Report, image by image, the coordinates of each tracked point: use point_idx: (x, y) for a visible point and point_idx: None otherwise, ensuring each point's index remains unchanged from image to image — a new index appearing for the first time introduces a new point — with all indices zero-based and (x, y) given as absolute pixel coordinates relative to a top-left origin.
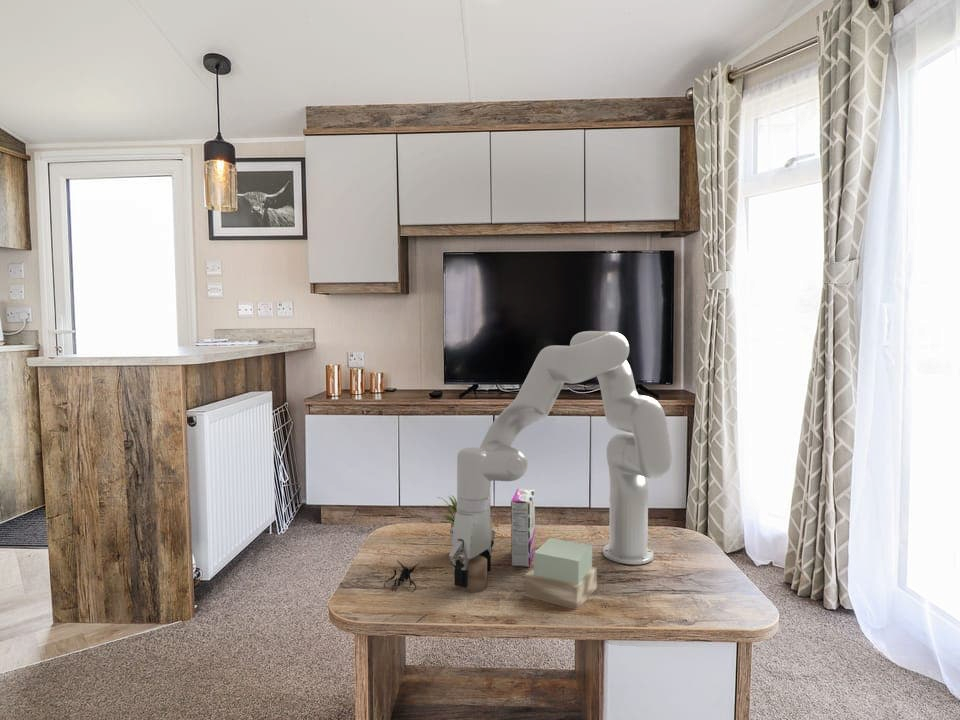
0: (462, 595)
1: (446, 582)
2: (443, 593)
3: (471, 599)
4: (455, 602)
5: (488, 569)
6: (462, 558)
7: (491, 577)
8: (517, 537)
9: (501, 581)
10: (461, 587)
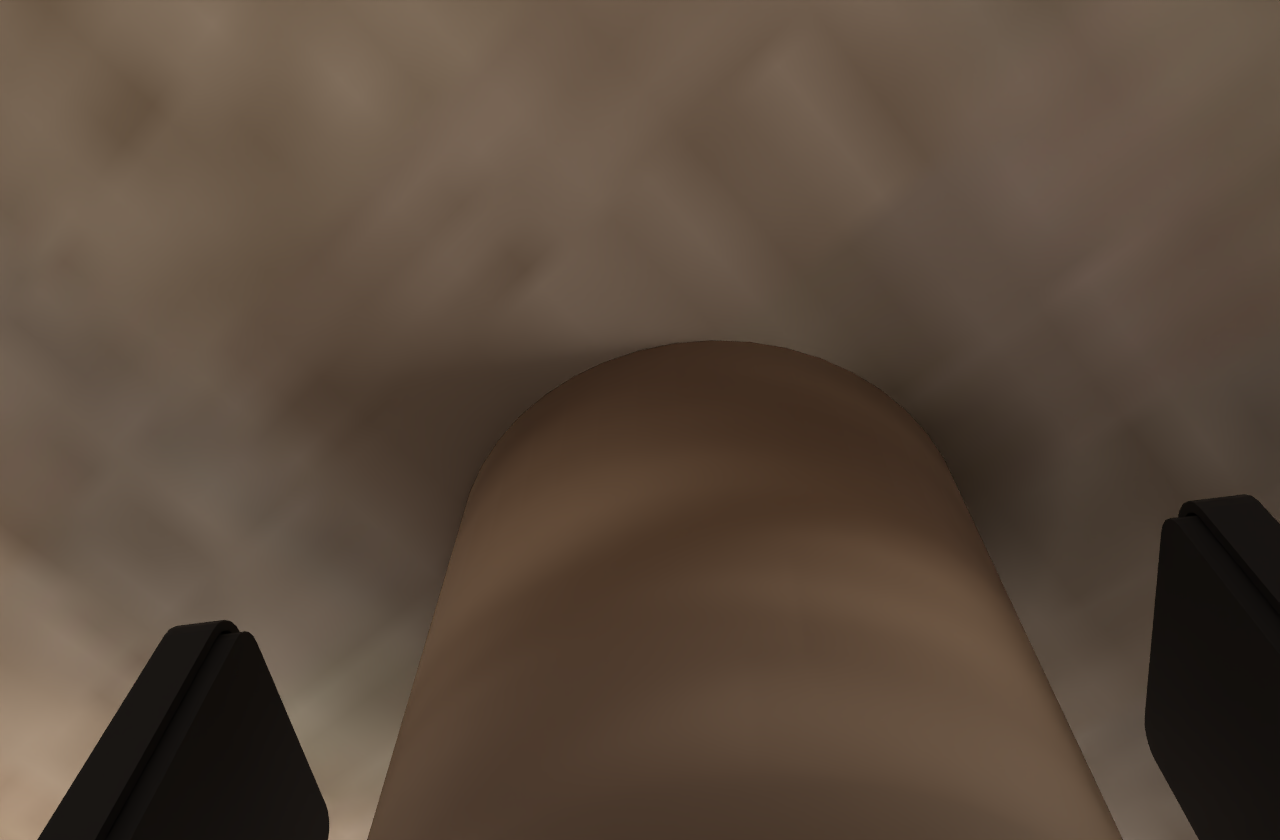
0: (302, 647)
1: (435, 48)
2: (61, 374)
3: (326, 801)
4: (60, 709)
5: (1170, 774)
6: (604, 823)
7: None
8: None
9: (1155, 771)
10: (473, 488)
